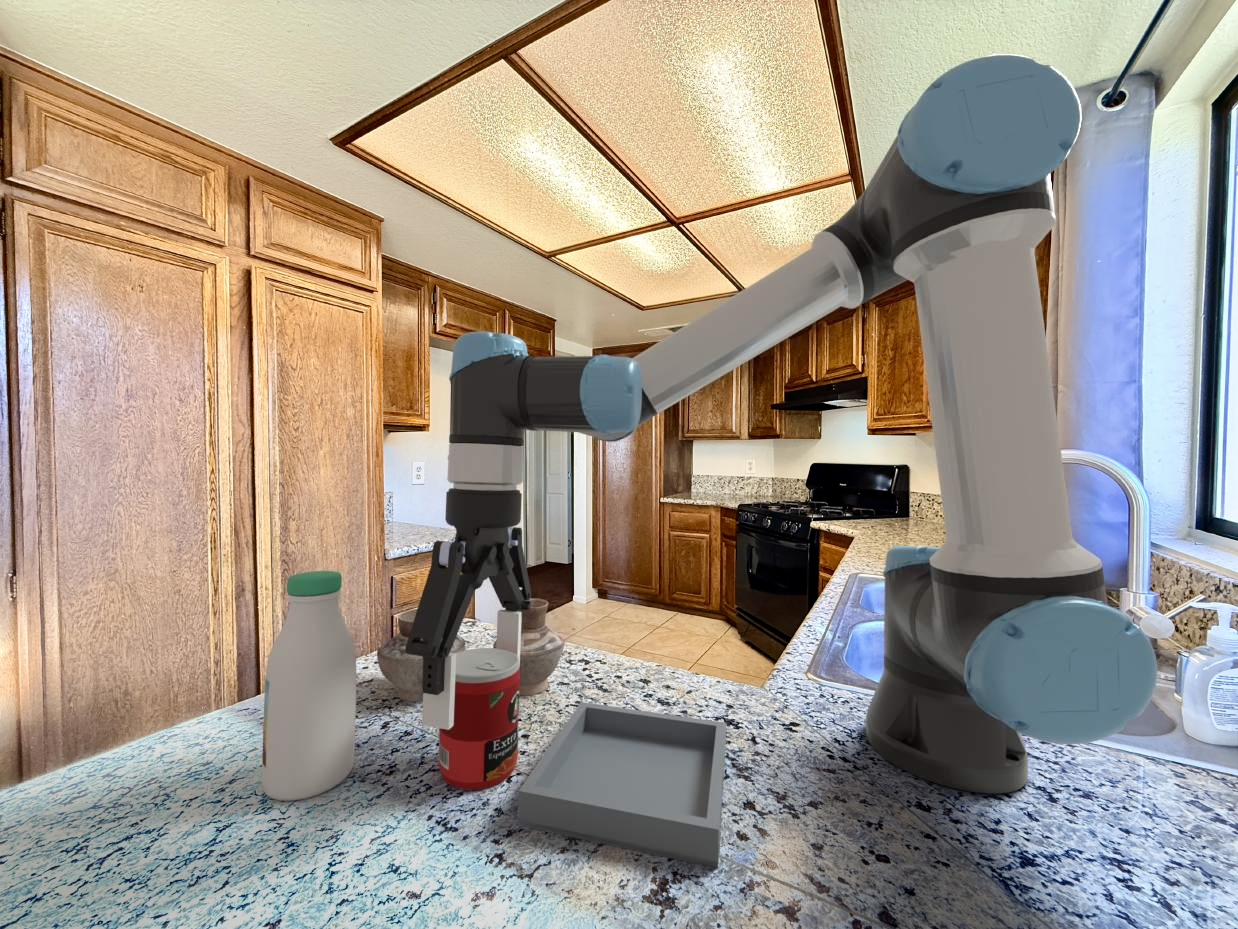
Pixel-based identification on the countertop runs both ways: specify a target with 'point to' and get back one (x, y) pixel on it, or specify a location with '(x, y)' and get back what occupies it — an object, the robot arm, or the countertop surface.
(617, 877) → the countertop surface
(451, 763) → the canned food
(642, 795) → the tray
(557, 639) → the pottery
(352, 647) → the milk bottle
